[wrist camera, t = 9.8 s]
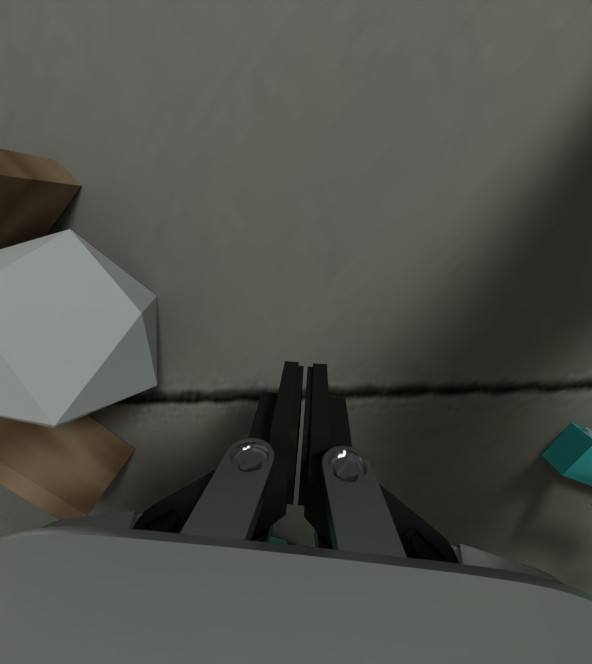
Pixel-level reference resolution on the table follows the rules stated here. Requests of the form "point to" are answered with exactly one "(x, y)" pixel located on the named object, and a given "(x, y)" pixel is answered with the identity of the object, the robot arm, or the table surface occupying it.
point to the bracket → (76, 436)
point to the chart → (572, 454)
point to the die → (71, 331)
